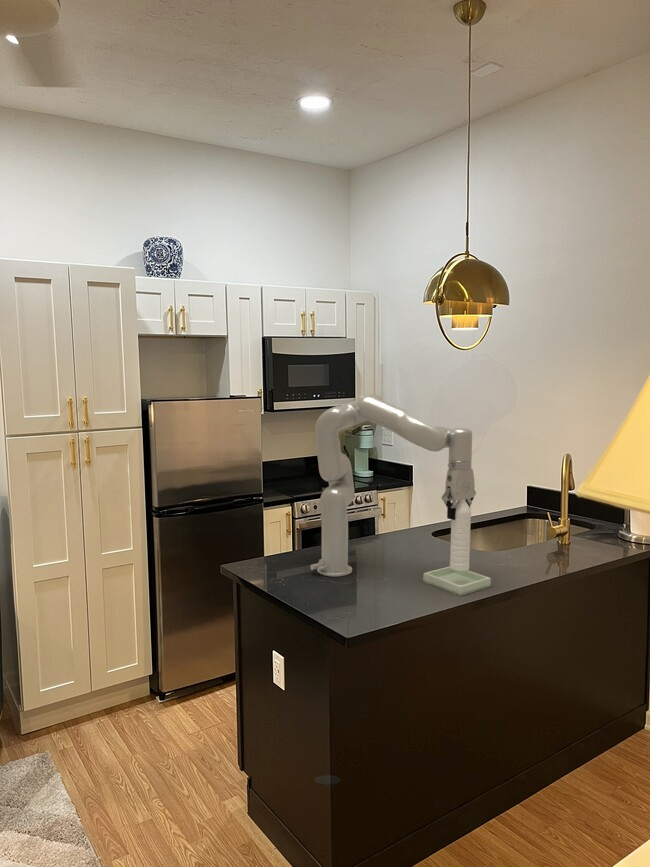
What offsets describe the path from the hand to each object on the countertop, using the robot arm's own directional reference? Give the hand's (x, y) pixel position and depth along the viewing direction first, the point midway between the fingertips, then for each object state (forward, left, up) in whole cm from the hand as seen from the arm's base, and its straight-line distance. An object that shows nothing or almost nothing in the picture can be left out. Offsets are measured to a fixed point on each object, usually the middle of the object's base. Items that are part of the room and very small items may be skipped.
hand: (458, 517), depth 220 cm
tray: (0, 0, -23) cm, 23 cm away
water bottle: (0, 0, -18) cm, 18 cm away
